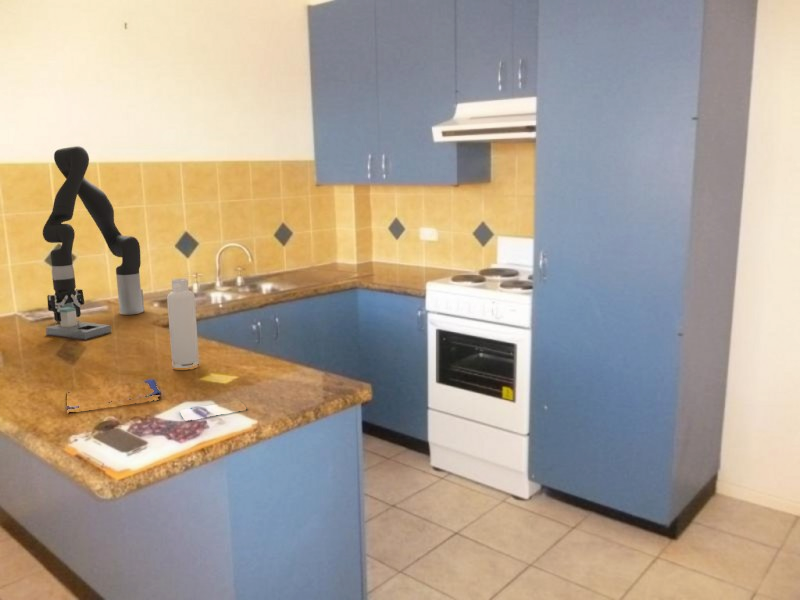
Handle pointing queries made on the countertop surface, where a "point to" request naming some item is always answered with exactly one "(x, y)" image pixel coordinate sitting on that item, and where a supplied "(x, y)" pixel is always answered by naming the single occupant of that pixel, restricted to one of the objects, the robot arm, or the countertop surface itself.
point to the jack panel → (79, 331)
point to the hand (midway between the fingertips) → (68, 319)
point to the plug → (68, 317)
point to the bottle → (182, 325)
